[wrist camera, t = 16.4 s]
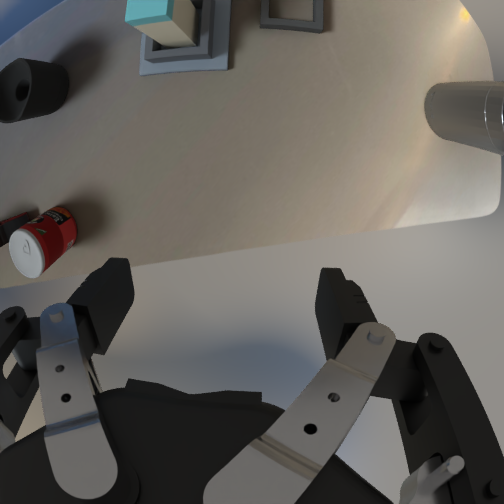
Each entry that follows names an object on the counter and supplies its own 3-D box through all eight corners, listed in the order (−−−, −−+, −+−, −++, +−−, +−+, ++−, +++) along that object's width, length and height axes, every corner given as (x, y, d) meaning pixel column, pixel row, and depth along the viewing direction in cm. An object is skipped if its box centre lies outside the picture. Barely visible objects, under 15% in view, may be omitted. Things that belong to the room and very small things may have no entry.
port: (231, -5, 28) (228, -17, 24) (227, 70, 33) (224, 64, 29) (147, 3, 28) (136, -7, 24) (142, 76, 33) (129, 72, 29)
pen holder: (46, 55, 30) (7, 51, 21) (81, 73, 32) (41, 69, 23) (24, 105, 34) (-16, 110, 25) (56, 126, 36) (15, 133, 27)
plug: (199, 14, 29) (171, -28, 16) (196, 46, 31) (166, 14, 18) (170, 17, 29) (131, -20, 16) (167, 48, 31) (124, 21, 18)
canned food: (75, 205, 42) (36, 231, 32) (81, 249, 45) (48, 281, 35) (43, 205, 42) (3, 229, 32) (50, 246, 45) (15, 276, 35)
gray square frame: (320, -18, 27) (322, -23, 25) (320, 33, 30) (323, 29, 29) (262, -23, 27) (262, -29, 25) (260, 28, 30) (260, 23, 29)
